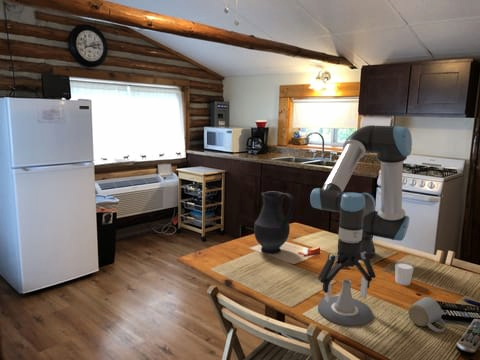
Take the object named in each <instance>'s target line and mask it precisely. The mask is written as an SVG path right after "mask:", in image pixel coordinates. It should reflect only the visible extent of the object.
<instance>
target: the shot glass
mask: <svg viewBox="0 0 480 360" xmlns="http://www.w3.org/2000/svg"><path fill="white" fill-rule="evenodd" d="M394 267H395V269H394V270H395V273H394V275H395V276H394V277H395V278H394V279H395V283H397V284H398V285H401V286H410V285H411V282H412V278H413V273H414V266H413V265H411V264H408V263H405V262H404V263H403V262H397V263H395V265H394Z"/></svg>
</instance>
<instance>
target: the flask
mask: <svg viewBox="0 0 480 360" xmlns="http://www.w3.org/2000/svg"><path fill="white" fill-rule="evenodd" d="M341 283H342V287H341V290H340V293H339V295H338V296H339V297H338V299H337V301H336V303H335V305H334V307H335V309H336V310H337V311H340V312H343V313H354V311H355V309H356V308H355V305H354V301H353V299H354V298H353V295H352V291H351V290H352V289H351V285H352V283H353V282H352V280H349V279H342V280H341Z"/></svg>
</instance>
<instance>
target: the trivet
mask: <svg viewBox="0 0 480 360" xmlns="http://www.w3.org/2000/svg"><path fill="white" fill-rule="evenodd" d="M338 297H339V295H331V296H330V303H328V302H327V301H326V300H325V299H324V298H322V299H321V300H319V302H318V304H317V311H318V313H319V315H320V316H322V317H323V318H324V319H326V320H327V321H329V322H331V323H333V324H337V325H341V326H345V327H359V326H363V325H367V324H368V323H370V322H371V321H372V319H373V311H372V309H371V308H370V307H369V306H368V305H367V304H366V303H364V301H360V300H358V299H356V298H353V301H354V305H355V308H356V309H355V311H354V313H343V312H340V311H337V310H336V309H335V307H334V305H335V303H336V301H337V299H338Z"/></svg>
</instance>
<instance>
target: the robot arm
mask: <svg viewBox="0 0 480 360" xmlns="http://www.w3.org/2000/svg"><path fill="white" fill-rule="evenodd" d="M412 145H413V138H412V133H411V131H410V129H409V128H408V127H406V126H398V125H393V126H392V125H371V124H370V125H366V126H362V127H360V128H358V129H357V130H355V131H354V132H353V133H351V134H350V135H349V136H347V138H346V140H345V141H344V143H343V144H342V152H341V153H340V155H339V157H338V159H337V160H336V162H335V164H334V166H333V168H332V169H331V171H330V173H329V175H328V177H327V178H326V181H324V184H323V186H322V188H320V187H317V188H316V187H315V188H313V189H312V191H311V193H310V196H309V197H310V198H309V201H310V205H311V207H312V208H314V209H318V210H321V211H323V210H324V211H330V212H335V213H339V227H338V239H337V253H336V254H333V253H330V252H329V254H328V255H327V256H328V257H327V260H326V262H325V264H324V266H323V268H322V270H321V271H320V273H319V275H318V277H317V279H318V281H320V283H321V284H322V292H323V293H324V298H323V299H325V300H326V301H327V302H328V303H330V297H331V296H332V293H331V291H332V283H331V282H332V280H333V279H334V278H335V277H336V276H337V275H338V274H339V272H340V271H341V270H343V269H344V268H350V267H351V268H353V267H356V269H357V270H358V271H359V272H360V273H361V275H362V276H363V277H361V279H360V280H361V282H360V291H359V292H360V293H359V295H360V296H361V298H363V299H365V300H367V294H368V289H369V288H370V282H372V281H373V279H375V278H376V273H375V270H374V268H373V266H372V263H371V261H370V259H373V258H374V257H376V248H375V245H374V241H373V237H378V238H383V239H388V240H392V241H398V242H400V241H403V240H404V238H405V237H406V234H407V232H408V228H409V224H410V216H408V215H406V211H405V209H403V208H402V207H403V174H404V173H403V172H404V171H403V169H404V167H403V165H404V162H405V161H406V160H407V159H408V156H410V155H411V153H412V150H413V149H412ZM366 154H376V160H377V161H378V162H380V207H379V208H378V210H376V200H375V198H374V196H373V195H372V194H370V193H369V192H361V193H359V192H352V191H351V192H348V191H347V192H345V191H344V190H345V188H346V186H347V184H348V183H349V181H350V179H351V177H352V175H353V173H354V170H355V169H356V168H357V165H358V163H359V162H360V159H362V158H363V157H364V156H365V155H366ZM360 260H362V261H363V265H364V266H365V268H364V267H363V266H362V264H361V263H360Z"/></svg>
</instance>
